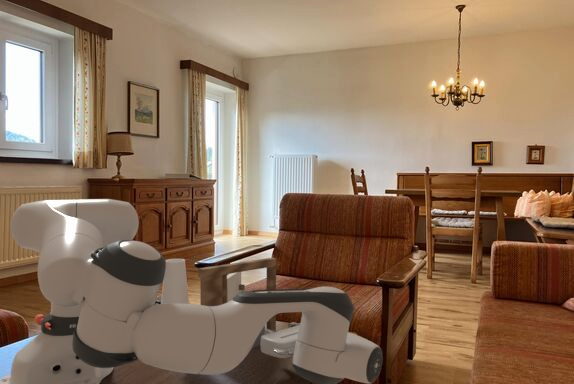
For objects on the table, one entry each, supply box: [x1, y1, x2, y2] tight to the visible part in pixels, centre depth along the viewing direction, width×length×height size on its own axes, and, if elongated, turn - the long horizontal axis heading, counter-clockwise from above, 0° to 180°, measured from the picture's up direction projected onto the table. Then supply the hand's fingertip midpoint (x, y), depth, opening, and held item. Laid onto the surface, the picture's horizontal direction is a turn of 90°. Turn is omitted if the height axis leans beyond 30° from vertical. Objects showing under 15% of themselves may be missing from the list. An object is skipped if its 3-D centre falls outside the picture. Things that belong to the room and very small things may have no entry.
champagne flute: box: [161, 258, 190, 304], centre depth 112 cm, size 7×7×24 cm
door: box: [227, 272, 246, 302], centre depth 123 cm, size 12×3×18 cm, turn 169°
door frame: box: [197, 257, 277, 332], centre depth 119 cm, size 23×2×22 cm, turn 132°
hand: (279, 329), depth 114 cm, fingers open, 6 cm apart
